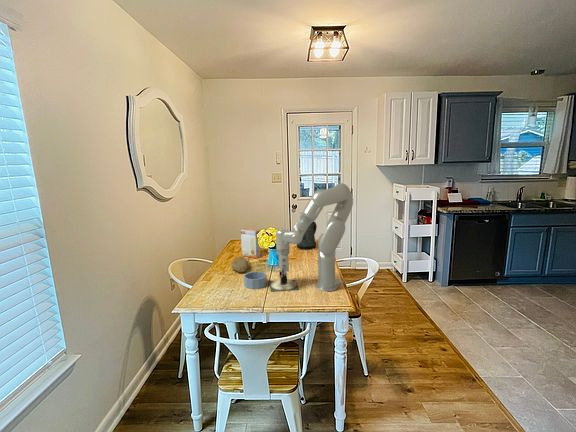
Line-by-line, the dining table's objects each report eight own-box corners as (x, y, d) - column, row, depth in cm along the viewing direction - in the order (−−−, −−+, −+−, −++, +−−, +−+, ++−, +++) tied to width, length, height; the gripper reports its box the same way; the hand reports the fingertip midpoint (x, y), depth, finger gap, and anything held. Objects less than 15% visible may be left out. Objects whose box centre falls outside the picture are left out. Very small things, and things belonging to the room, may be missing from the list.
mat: (294, 280, 190) (294, 279, 190) (299, 290, 175) (299, 289, 175) (268, 281, 188) (268, 281, 188) (270, 292, 173) (270, 291, 172)
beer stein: (294, 249, 257) (294, 219, 252) (300, 243, 275) (299, 215, 271) (314, 250, 252) (314, 220, 248) (318, 244, 270) (318, 215, 266)
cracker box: (261, 256, 237) (260, 229, 234) (256, 259, 232) (255, 231, 229) (246, 254, 245) (245, 228, 241) (241, 256, 240) (240, 229, 236)
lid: (294, 279, 190) (294, 270, 189) (298, 289, 175) (298, 279, 174) (269, 281, 188) (269, 271, 187) (271, 291, 173) (271, 281, 172)
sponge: (235, 266, 221) (224, 269, 202) (237, 255, 221) (227, 258, 202) (252, 270, 219) (244, 274, 200) (255, 259, 219) (246, 262, 200)
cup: (265, 280, 190) (265, 271, 189) (267, 288, 178) (267, 278, 177) (244, 281, 189) (243, 272, 188) (244, 290, 176) (244, 280, 175)
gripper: (291, 255, 170) (292, 285, 173) (287, 246, 187) (287, 274, 190) (278, 255, 169) (278, 286, 172) (274, 247, 186) (275, 275, 189)
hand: (283, 280), depth 181 cm, fingers open, 7 cm apart
